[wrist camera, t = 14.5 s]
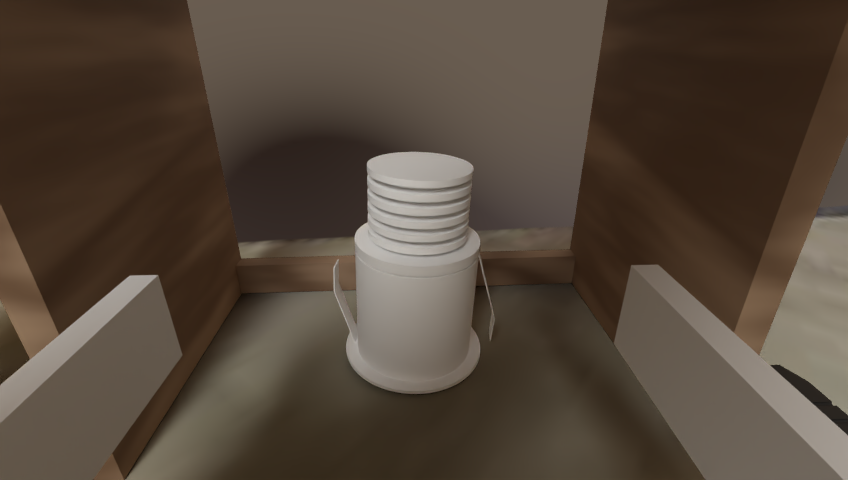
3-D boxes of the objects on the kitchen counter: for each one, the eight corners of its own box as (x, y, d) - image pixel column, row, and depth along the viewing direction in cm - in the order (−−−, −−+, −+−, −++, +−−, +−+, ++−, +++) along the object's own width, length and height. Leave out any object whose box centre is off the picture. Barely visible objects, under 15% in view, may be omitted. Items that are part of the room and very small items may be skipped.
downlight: (320, 391, 20) (303, 184, 16) (352, 306, 26) (346, 142, 22) (494, 405, 20) (525, 197, 15) (484, 315, 26) (504, 150, 22)
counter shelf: (583, 275, 30) (650, -119, 21) (720, 451, 17) (1053, -374, 8) (228, 285, 29) (134, -122, 20) (91, 481, 16) (-358, -420, 7)
